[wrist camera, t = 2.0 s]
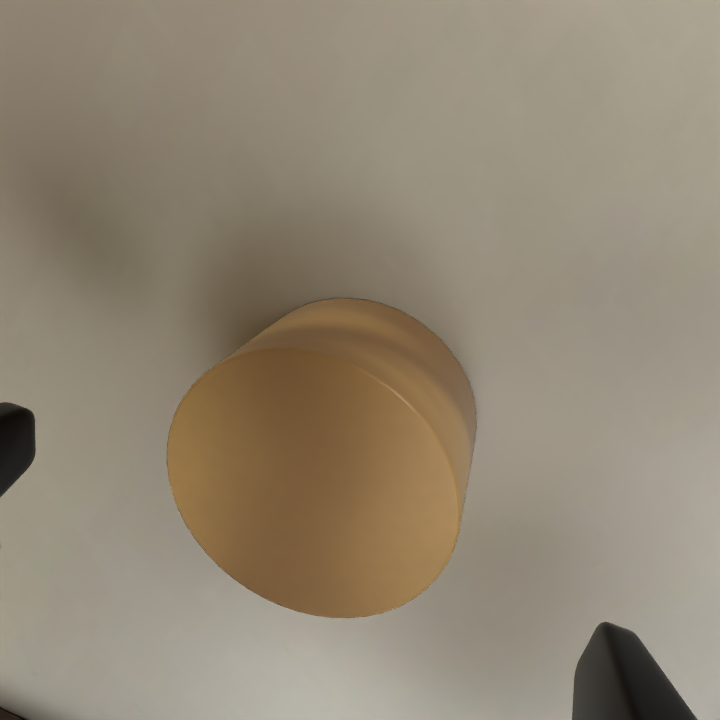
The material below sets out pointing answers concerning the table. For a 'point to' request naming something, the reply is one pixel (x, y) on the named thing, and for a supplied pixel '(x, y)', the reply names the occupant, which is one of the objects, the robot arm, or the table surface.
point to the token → (328, 459)
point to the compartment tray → (8, 716)
